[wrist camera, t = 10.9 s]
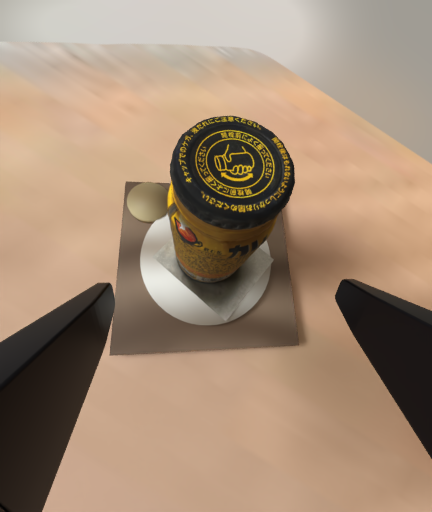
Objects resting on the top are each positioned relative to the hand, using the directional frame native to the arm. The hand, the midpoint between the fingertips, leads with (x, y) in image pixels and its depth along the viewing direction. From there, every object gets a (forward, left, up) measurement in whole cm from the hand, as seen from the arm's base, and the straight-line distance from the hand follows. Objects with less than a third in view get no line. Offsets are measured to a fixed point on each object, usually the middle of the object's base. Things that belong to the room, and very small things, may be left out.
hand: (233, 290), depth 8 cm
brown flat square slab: (+4, -2, -12) cm, 13 cm away
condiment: (+3, -3, -11) cm, 12 cm away
